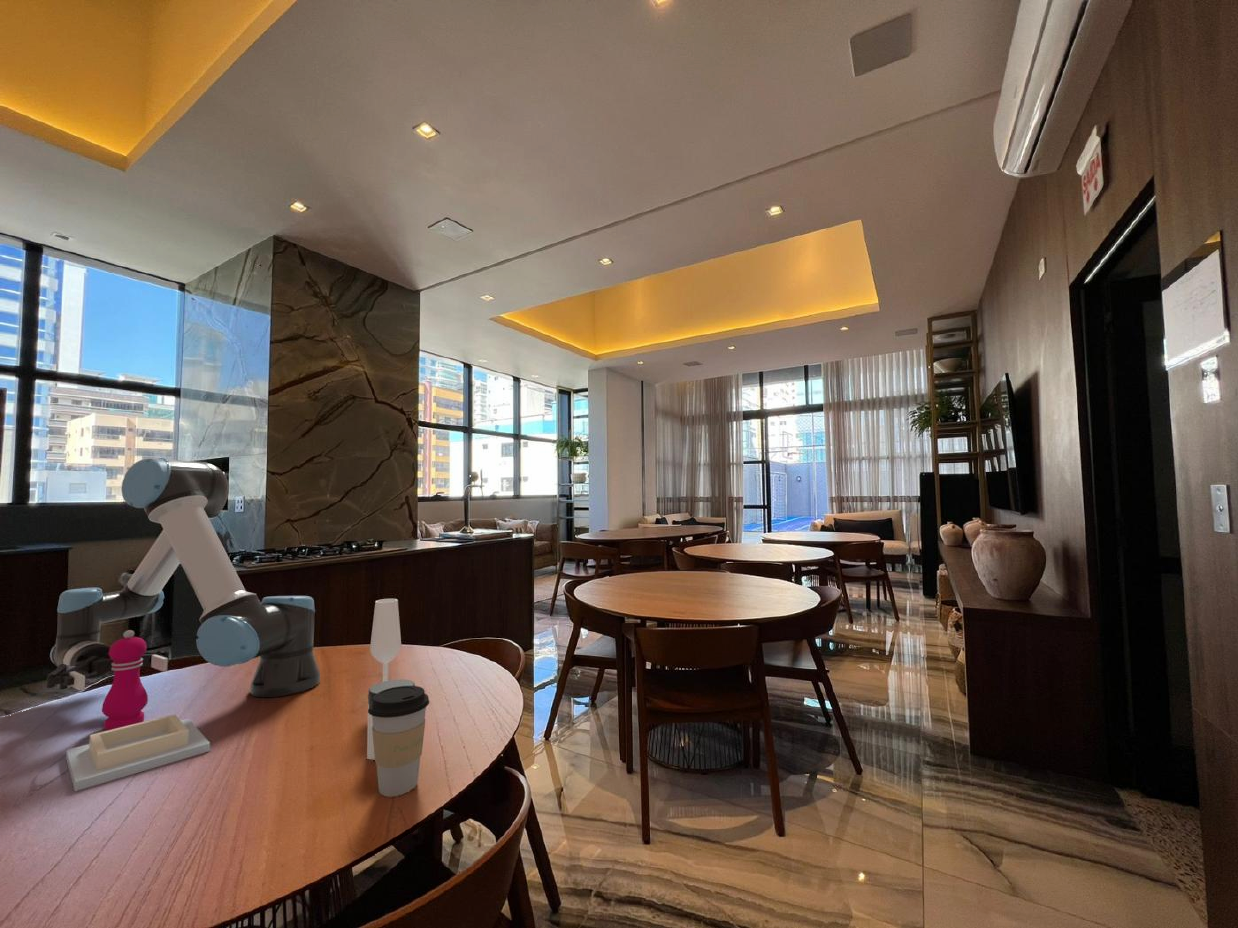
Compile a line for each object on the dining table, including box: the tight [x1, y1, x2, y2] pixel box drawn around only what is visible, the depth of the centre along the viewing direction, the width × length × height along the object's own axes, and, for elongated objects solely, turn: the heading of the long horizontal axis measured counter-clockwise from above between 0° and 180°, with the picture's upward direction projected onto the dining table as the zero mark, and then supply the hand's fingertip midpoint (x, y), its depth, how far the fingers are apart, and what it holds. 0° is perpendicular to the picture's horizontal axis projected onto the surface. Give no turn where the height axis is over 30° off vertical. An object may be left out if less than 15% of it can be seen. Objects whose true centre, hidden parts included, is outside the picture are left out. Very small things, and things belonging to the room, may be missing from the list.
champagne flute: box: [369, 598, 402, 682], centre depth 123 cm, size 7×7×24 cm
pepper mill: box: [101, 629, 149, 731], centre depth 114 cm, size 7×7×20 cm
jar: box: [366, 678, 416, 759], centre depth 100 cm, size 9×8×12 cm
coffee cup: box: [367, 685, 430, 798], centre depth 88 cm, size 9×9×15 cm
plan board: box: [65, 714, 211, 792], centre depth 100 cm, size 18×18×4 cm
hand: (126, 673), depth 114 cm, fingers open, 13 cm apart
